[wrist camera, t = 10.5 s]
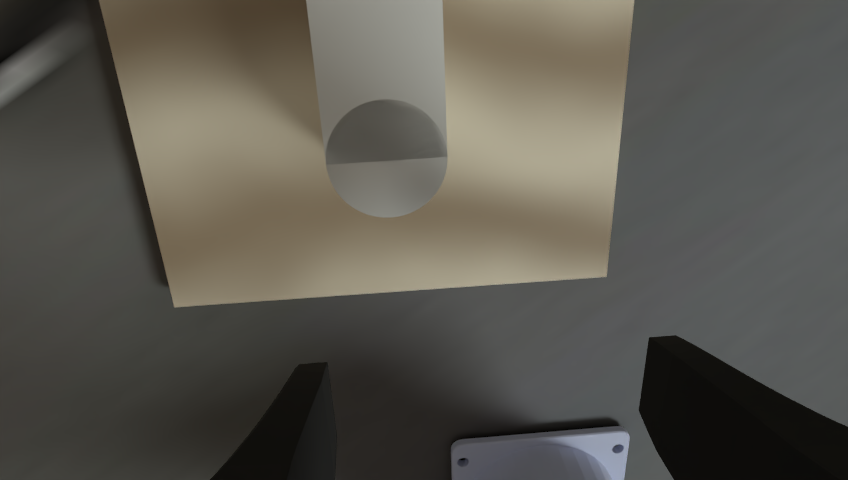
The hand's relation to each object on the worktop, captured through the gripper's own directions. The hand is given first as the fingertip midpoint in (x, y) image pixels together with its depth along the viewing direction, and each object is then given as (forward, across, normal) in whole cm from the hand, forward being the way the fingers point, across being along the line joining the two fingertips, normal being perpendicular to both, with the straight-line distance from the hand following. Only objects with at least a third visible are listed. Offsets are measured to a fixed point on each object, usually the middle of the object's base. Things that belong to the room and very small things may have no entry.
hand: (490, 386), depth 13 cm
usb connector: (+8, +2, -8) cm, 12 cm away
